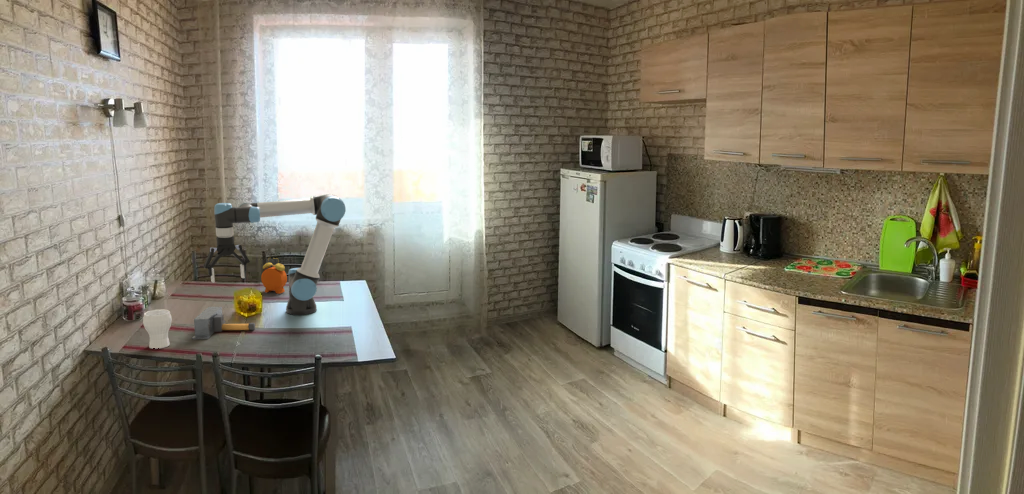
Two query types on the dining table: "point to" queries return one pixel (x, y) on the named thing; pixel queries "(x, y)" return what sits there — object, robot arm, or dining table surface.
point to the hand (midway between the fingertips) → (228, 279)
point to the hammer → (229, 325)
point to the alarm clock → (274, 277)
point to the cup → (158, 327)
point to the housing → (206, 323)
